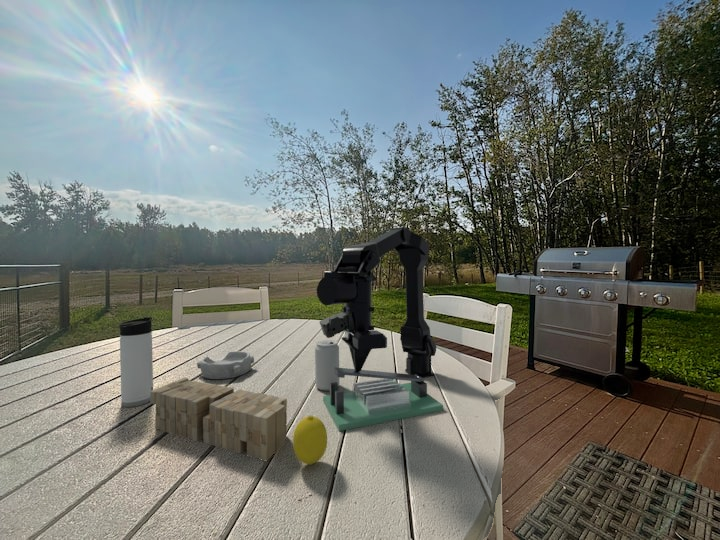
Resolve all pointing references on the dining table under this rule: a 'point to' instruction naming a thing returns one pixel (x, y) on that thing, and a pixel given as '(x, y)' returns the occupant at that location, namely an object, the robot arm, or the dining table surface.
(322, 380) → the beverage can
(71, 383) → the dining table surface
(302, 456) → the lemon
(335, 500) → the dining table surface
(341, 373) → the strap
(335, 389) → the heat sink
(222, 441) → the block tower
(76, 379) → the dining table surface
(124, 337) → the travel mug
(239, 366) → the dish
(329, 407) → the circuit board
